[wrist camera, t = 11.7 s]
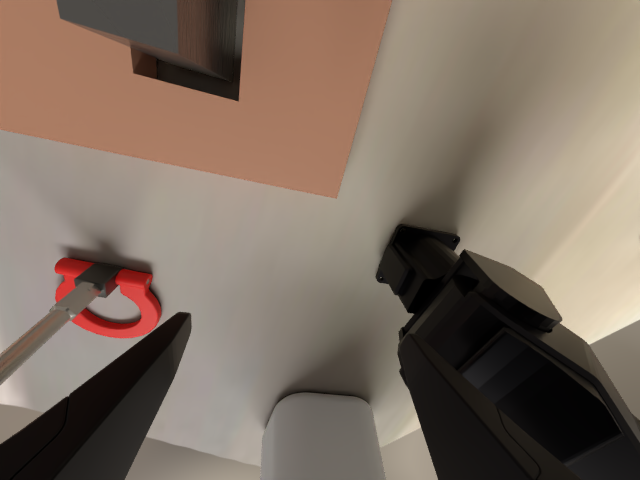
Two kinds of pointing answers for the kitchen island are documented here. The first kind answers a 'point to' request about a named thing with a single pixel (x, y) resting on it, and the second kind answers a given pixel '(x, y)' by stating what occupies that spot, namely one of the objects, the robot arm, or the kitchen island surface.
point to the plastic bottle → (321, 440)
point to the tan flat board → (196, 106)
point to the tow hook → (71, 306)
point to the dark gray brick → (165, 29)
